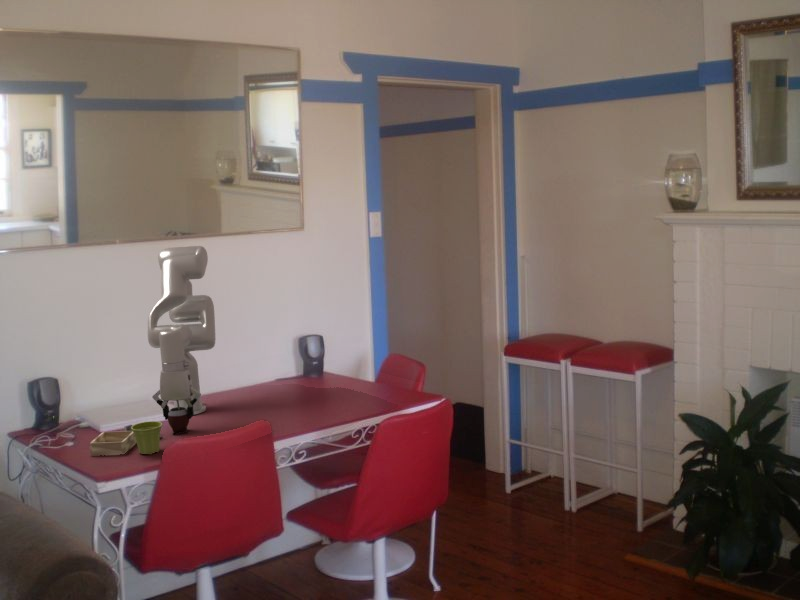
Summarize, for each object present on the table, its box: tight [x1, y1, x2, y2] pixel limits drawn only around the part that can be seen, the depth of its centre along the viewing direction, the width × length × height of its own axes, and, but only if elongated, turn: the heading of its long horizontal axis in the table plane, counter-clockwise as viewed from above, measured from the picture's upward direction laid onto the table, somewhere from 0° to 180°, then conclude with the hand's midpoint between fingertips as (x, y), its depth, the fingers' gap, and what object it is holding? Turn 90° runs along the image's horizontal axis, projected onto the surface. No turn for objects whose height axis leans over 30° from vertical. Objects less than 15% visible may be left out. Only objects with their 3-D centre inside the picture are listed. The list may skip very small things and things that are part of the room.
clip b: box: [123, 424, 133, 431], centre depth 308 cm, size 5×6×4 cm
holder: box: [89, 430, 137, 457], centre depth 300 cm, size 12×11×4 cm
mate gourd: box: [167, 400, 190, 436], centre depth 314 cm, size 8×8×15 cm
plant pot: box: [131, 420, 163, 455], centre depth 295 cm, size 9×9×9 cm
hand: (178, 417), depth 314 cm, fingers closed on mate gourd, 7 cm apart
